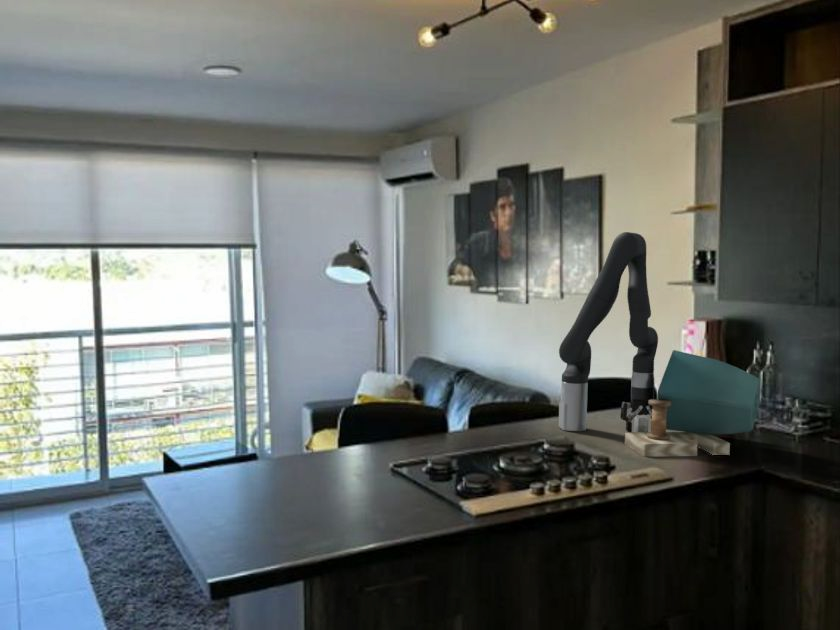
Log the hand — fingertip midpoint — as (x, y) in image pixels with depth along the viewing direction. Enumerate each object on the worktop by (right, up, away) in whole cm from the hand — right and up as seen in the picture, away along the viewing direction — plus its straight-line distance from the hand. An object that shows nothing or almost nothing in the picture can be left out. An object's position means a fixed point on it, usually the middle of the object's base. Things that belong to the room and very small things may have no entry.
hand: (641, 432), depth 257 cm
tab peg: (0, -3, 0) cm, 3 cm away
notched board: (+7, -4, -13) cm, 15 cm away
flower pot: (+32, +11, -16) cm, 38 cm away
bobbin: (+1, 0, -14) cm, 14 cm away
